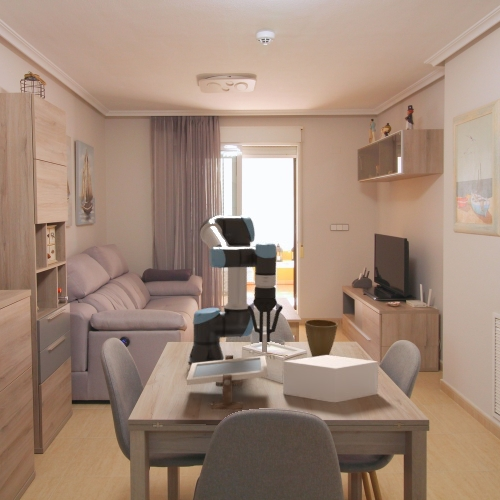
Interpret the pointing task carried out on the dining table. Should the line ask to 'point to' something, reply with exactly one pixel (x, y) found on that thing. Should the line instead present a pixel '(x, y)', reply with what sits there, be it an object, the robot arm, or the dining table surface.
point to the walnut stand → (227, 392)
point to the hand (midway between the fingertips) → (264, 350)
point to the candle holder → (256, 335)
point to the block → (330, 378)
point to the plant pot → (320, 336)
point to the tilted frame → (227, 370)
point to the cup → (278, 341)
